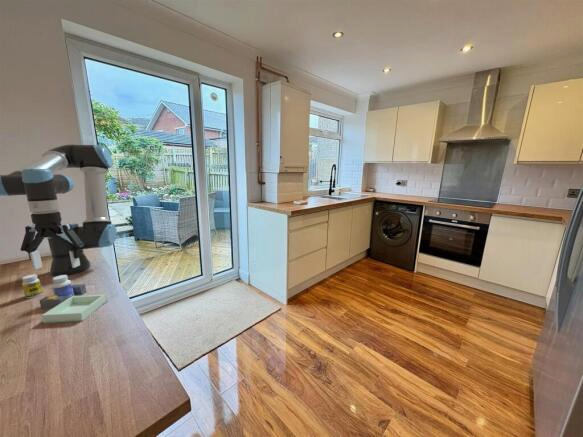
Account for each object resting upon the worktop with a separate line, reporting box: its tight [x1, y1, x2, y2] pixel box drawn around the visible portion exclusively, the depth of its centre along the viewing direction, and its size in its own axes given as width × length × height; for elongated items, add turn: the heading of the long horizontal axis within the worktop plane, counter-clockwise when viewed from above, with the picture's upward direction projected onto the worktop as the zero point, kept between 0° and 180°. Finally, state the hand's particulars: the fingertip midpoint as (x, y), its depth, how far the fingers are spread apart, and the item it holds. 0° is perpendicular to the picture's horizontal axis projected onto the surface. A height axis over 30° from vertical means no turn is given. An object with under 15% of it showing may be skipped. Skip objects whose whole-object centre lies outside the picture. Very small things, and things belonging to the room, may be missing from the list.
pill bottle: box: [51, 275, 75, 300], centre depth 92 cm, size 5×5×10 cm
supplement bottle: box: [21, 274, 43, 299], centre depth 96 cm, size 5×5×8 cm
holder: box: [39, 283, 87, 310], centre depth 92 cm, size 12×7×4 cm, turn 4°
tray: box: [41, 293, 108, 324], centre depth 84 cm, size 12×12×3 cm
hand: (57, 267), depth 90 cm, fingers open, 13 cm apart
